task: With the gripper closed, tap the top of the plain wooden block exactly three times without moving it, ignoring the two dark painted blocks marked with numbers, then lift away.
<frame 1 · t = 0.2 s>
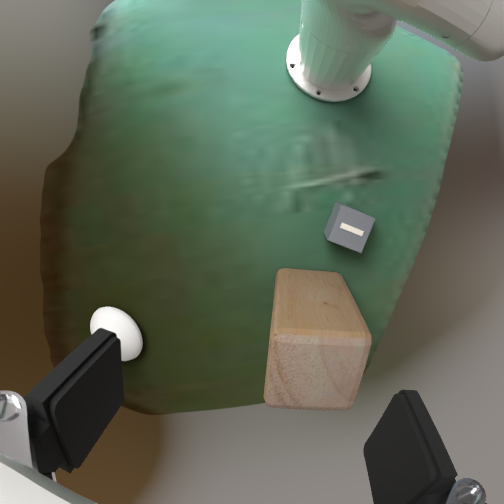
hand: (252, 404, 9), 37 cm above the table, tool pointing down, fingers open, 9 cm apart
charcoal block marked 1: (344, 223, 43), on the table
flower in vase: (119, 333, 53), on the table
wooden block: (306, 298, 47), on the table
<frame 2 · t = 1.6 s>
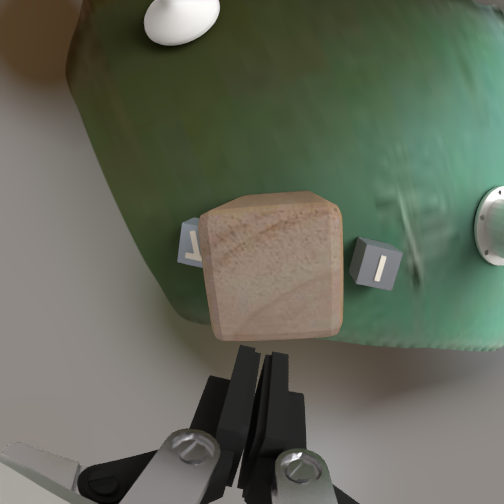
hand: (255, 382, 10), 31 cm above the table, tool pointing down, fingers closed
charcoal block marked 1: (369, 257, 39), on the table
slate block marked 7: (208, 238, 41), on the table
flower in vase: (179, 18, 34), on the table
wooden block: (278, 230, 40), on the table
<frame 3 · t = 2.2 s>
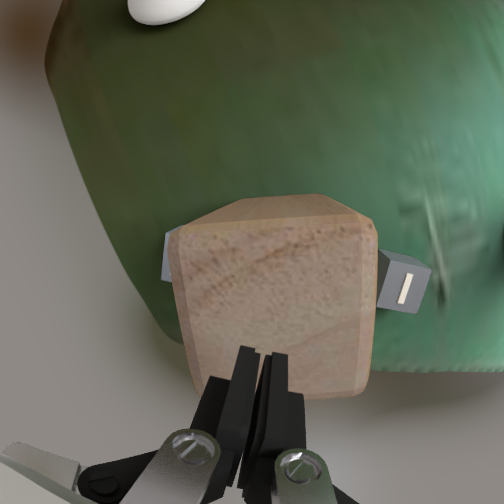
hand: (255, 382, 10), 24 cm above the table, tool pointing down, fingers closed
charcoal block marked 1: (390, 273, 32), on the table
slate block marked 7: (200, 250, 35), on the table
wooden block: (283, 240, 33), on the table
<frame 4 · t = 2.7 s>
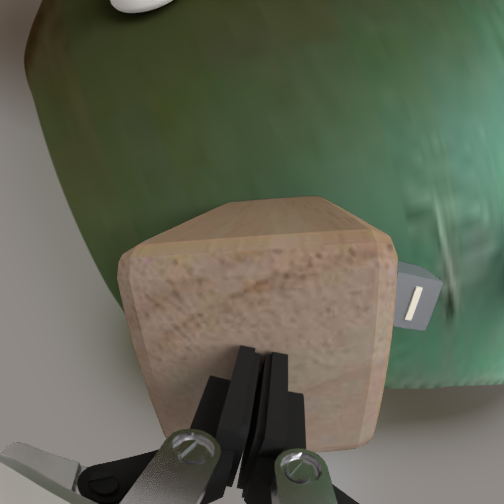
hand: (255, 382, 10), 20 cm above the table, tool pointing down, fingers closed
charcoal block marked 1: (395, 284, 29), on the table
wooden block: (276, 249, 30), on the table, touching gripper
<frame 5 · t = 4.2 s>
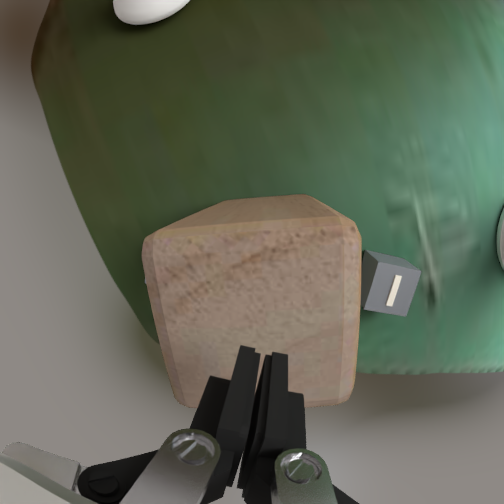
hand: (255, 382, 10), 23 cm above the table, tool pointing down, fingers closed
charcoal block marked 1: (378, 274, 32), on the table
wooden block: (269, 242, 33), on the table
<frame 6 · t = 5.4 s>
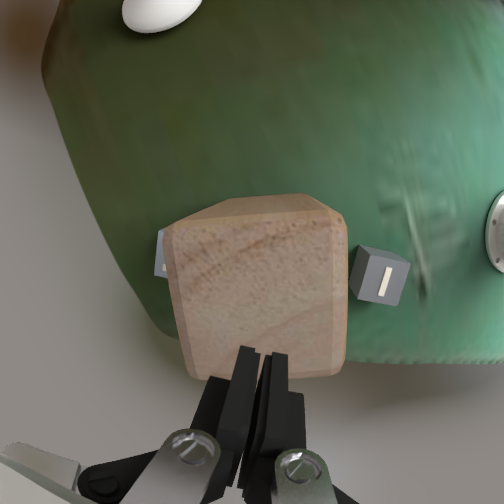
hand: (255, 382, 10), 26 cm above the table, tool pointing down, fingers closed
charcoal block marked 1: (371, 268, 35), on the table
slate block marked 7: (190, 247, 36), on the table
flower in vase: (160, 5, 29), on the table
wooden block: (269, 238, 35), on the table
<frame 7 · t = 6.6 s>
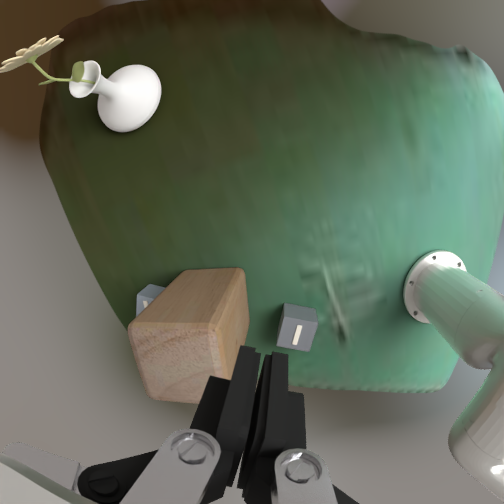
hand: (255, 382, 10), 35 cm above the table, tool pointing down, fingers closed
charcoal block marked 1: (296, 319, 47), on the table
slate block marked 7: (162, 300, 49), on the table
flower in vase: (129, 99, 41), on the table
wooden block: (216, 296, 48), on the table
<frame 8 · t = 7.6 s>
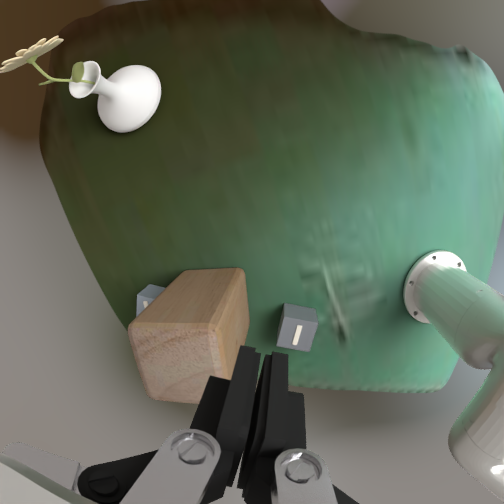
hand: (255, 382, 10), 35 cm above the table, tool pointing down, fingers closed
charcoal block marked 1: (296, 319, 47), on the table
slate block marked 7: (162, 300, 49), on the table
flower in vase: (129, 99, 42), on the table
wooden block: (217, 296, 48), on the table
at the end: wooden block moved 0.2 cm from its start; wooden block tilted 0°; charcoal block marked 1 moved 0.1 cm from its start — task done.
